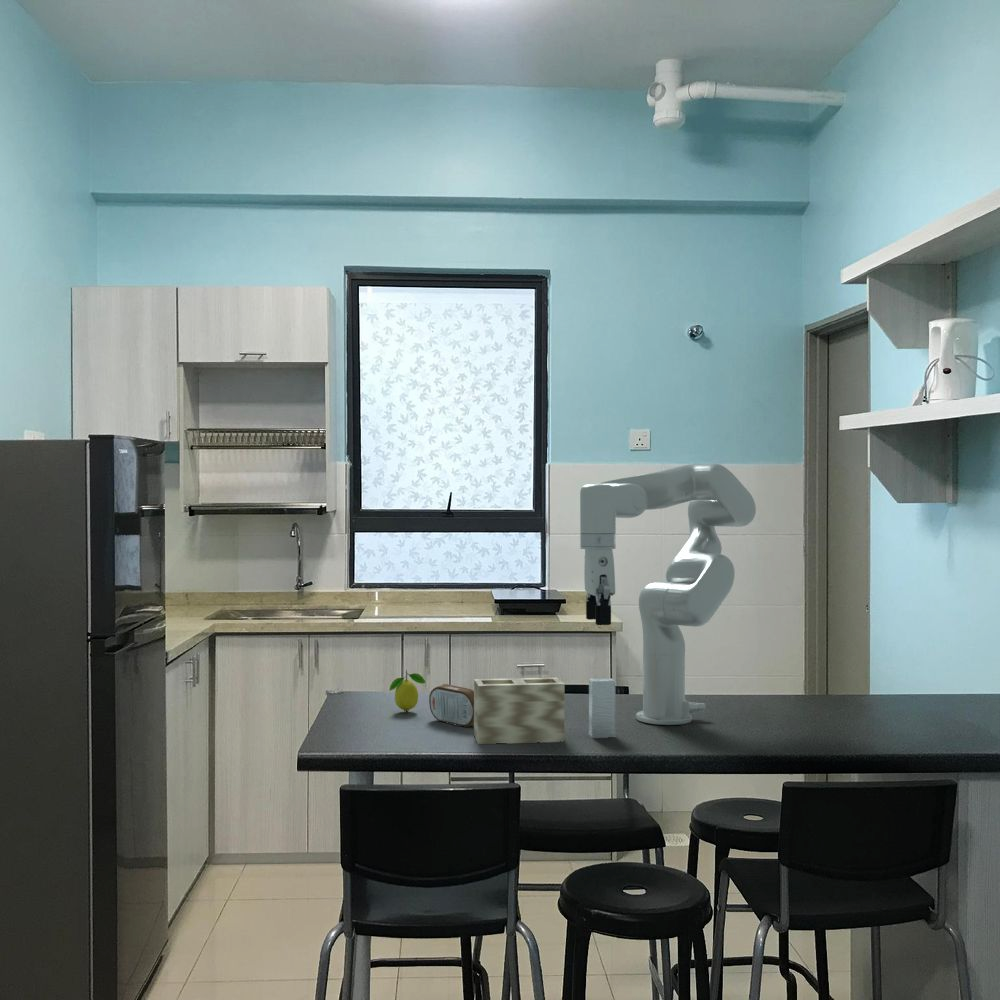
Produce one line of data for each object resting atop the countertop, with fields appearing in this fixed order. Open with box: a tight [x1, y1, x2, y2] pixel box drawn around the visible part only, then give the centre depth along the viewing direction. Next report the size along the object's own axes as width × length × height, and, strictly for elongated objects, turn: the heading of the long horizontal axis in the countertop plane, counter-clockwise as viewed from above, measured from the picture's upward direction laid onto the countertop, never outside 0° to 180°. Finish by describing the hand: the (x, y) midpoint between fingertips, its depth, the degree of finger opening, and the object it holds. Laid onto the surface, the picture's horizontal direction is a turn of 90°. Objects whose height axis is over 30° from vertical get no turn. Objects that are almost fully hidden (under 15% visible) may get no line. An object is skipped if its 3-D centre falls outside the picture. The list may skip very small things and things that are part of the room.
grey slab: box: [588, 678, 616, 739], centre depth 213 cm, size 5×3×12 cm, turn 98°
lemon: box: [389, 669, 426, 712], centre depth 238 cm, size 7×6×10 cm
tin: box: [428, 683, 474, 728], centre depth 225 cm, size 15×3×8 cm, turn 47°
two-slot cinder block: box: [473, 677, 565, 745], centre depth 211 cm, size 18×8×12 cm, turn 98°
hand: (598, 622), depth 214 cm, fingers open, 9 cm apart
